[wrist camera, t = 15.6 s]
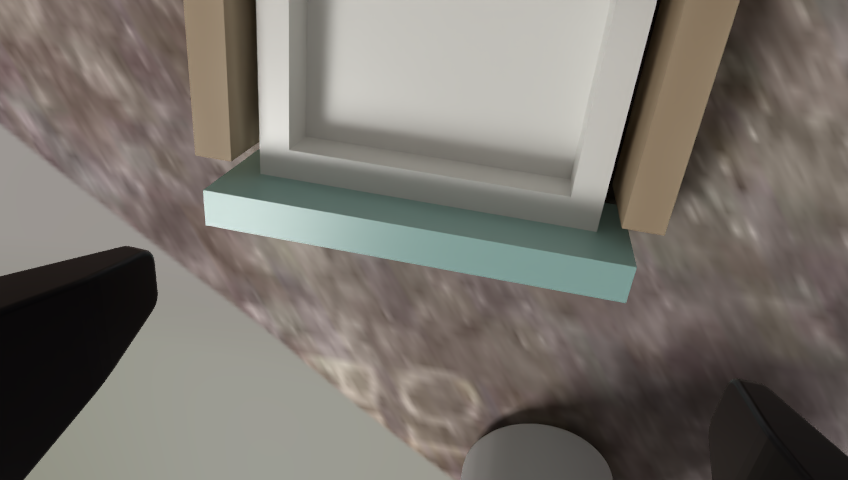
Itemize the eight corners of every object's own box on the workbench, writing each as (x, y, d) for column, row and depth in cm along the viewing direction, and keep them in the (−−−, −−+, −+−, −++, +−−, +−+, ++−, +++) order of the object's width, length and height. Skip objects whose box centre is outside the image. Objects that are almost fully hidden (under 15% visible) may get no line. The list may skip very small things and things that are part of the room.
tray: (728, -179, 16) (783, -215, 12) (613, 236, 22) (625, 303, 18) (255, -221, 17) (169, -265, 14) (264, 176, 23) (205, 225, 19)
